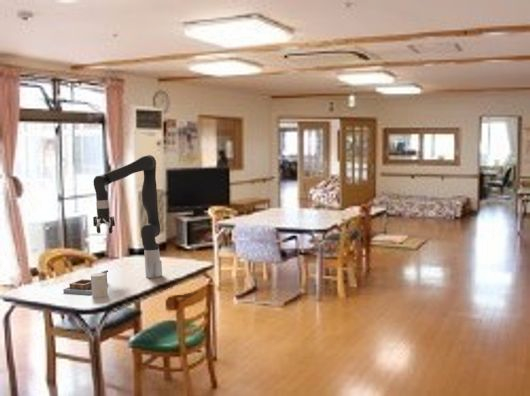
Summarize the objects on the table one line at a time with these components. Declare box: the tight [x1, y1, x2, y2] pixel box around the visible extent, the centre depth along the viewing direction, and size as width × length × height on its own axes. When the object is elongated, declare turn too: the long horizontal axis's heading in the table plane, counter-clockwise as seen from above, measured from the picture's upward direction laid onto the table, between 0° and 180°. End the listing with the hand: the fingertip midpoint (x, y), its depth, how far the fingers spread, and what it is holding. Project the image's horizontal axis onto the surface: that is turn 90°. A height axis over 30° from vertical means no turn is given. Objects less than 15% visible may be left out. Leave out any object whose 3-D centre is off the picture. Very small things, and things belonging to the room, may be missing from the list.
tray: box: [63, 283, 109, 296], centre depth 340 cm, size 18×16×2 cm
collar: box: [69, 278, 92, 290], centre depth 340 cm, size 13×11×4 cm
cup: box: [90, 272, 109, 299], centre depth 325 cm, size 8×8×12 cm
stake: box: [100, 269, 109, 281], centre depth 353 cm, size 2×5×8 cm, turn 159°
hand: (104, 233), depth 366 cm, fingers open, 8 cm apart
